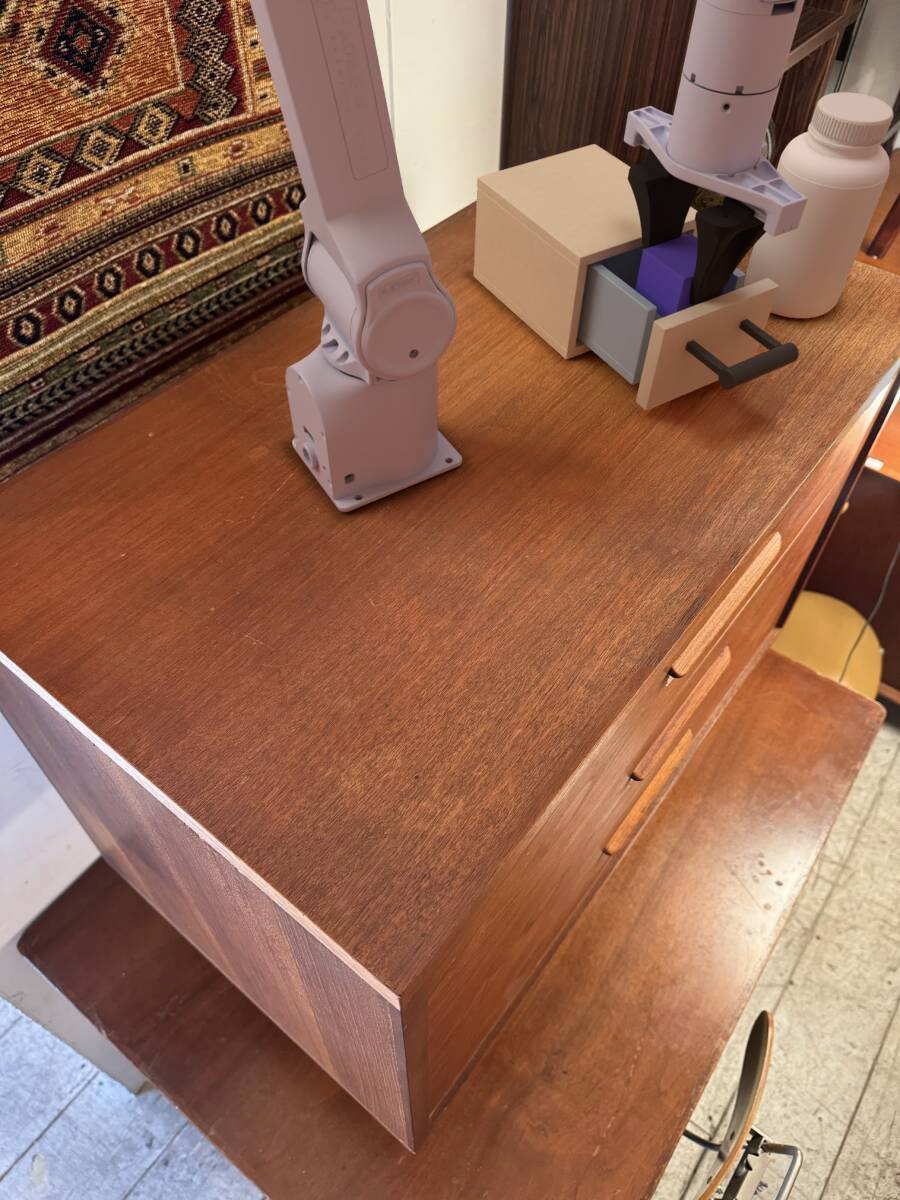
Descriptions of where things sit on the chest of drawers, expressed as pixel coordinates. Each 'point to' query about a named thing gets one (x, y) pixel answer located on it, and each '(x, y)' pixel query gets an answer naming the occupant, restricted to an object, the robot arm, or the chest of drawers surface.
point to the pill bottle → (826, 204)
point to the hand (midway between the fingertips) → (679, 284)
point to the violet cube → (668, 274)
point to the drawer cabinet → (554, 236)
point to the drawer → (678, 333)
